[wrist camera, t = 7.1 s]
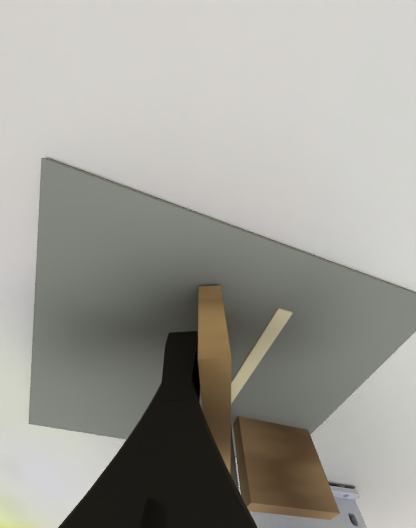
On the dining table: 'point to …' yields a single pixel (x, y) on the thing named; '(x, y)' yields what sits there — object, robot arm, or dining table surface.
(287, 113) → the dining table surface
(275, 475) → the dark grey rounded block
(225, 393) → the fence panel
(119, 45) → the dining table surface
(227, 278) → the card
